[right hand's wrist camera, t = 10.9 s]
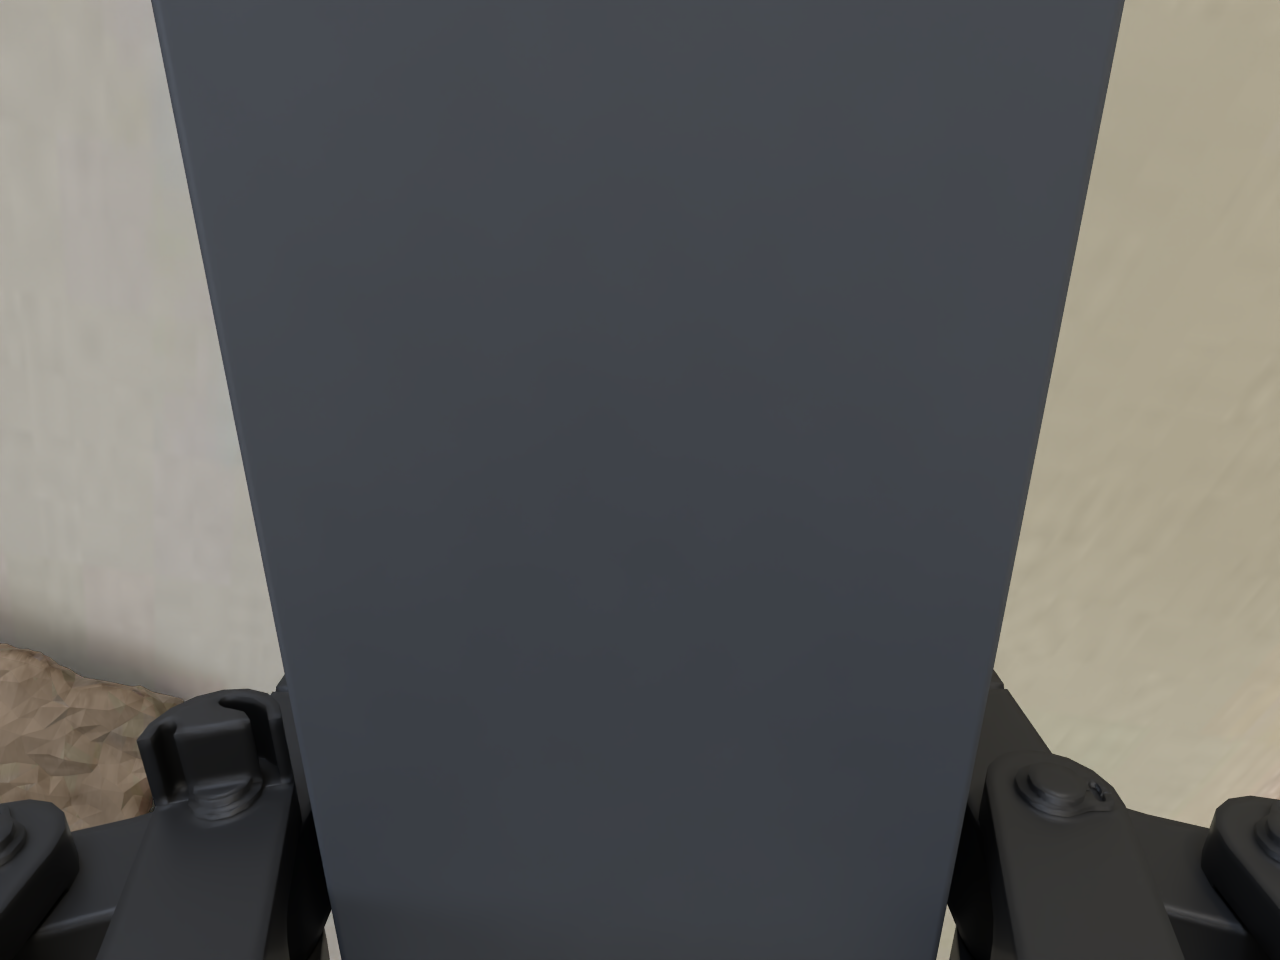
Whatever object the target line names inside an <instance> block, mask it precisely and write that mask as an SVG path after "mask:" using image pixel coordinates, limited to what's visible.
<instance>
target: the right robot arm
mask: <svg viewBox="0 0 1280 960" xmlns="http://www.w3.org/2000/svg"><path fill="white" fill-rule="evenodd" d="M136 741H137V745H138V748H139V752H140V755H141V759H142V762H143V766H144V769H145V773H146V776H147V780H148V783H149V787H150V790H151V794H152V797H153V801H154V804H155V808H154V810H153V812H150V813H147V814H144V815H140V816H137V817H133V818H129V819H125V820H121V821H116V822H112V823H107V824H103V825H99V826H94V827H90V828H86V829H81V830H77V831H72V832H71V831H70V828H69V825H68V822H67V819H66V816H65V813H64V812H63V811H62V810H61V809H59V808H58V807H57V806H56V805H54V804H53V803H52V802H46V801H39V800H32V799H28V800H21V801H14V802H7V803H1V804H0V960H330V958H329V951H328V944H327V939H326V934H325V929H324V926H325V924H326V922H327V919H328V917H329V914H330V912H331V904H330V899H329V894H328V889H327V884H326V879H325V873H324V868H323V863H322V858H321V853H320V848H319V843H318V838H317V833H316V828H315V823H314V818H313V813H312V808H311V803H310V798H309V793H308V788H307V783H306V778H305V773H304V768H303V763H302V758H301V753H300V748H299V742H298V737H297V732H296V727H295V722H294V717H293V712H292V707H291V702H290V697H289V692H288V687H287V682H286V677H285V675H284V676H283V678H282V679H281V681H280V682H279V683H278V685H277V686H276V692H272V694H271V695H269V694H268V693H264V692H259V691H255V690H251V689H232V690H221V691H217V692H213V693H209V694H205V695H201V696H197V697H194V698H192V699H190V700H188V701H185V702H183V703H181V704H179V705H176V706H174V707H172V708H170V709H169V710H167V711H166V712H165V713H163V714H162V715H160V716H159V717H158V718H156V719H155V720H153V721H152V722H151V723H149V725H148V726H147V727H146V729H145V730H144V731H143V732H142V734H141V735H140V736H139V738H138V739H137V740H136ZM947 904H948V907H949V909H950V912H951V914H952V916H953V919H954V921H955V924H956V929H955V934H954V939H953V944H952V949H951V954H950V959H949V960H1280V800H1277V799H1270V798H1263V797H1256V796H1245V797H1238V798H1231V799H1228V800H1227V801H1225V802H1224V803H1223V804H1222V805H1220V806H1219V807H1218V808H1217V809H1216V811H1215V814H1214V817H1213V820H1212V823H1211V826H1210V829H1209V828H1205V827H1200V826H1196V825H1192V824H1187V823H1183V822H1178V821H1174V820H1169V819H1165V818H1161V817H1156V816H1152V815H1147V814H1144V813H1141V812H1137V811H1134V810H1131V809H1127V808H1126V806H1125V804H1124V803H1123V801H1122V800H1121V798H1120V797H1119V795H1118V794H1117V792H1116V791H1115V789H1114V788H1113V787H1112V786H1111V785H1110V784H1109V783H1107V782H1106V781H1105V780H1104V779H1103V778H1101V777H1100V776H1099V775H1098V774H1096V773H1095V772H1094V771H1093V770H1091V769H1089V768H1087V767H1085V766H1083V765H1081V764H1079V763H1077V762H1075V761H1073V760H1071V759H1069V758H1066V757H1062V756H1059V755H1055V754H1052V753H1051V751H1050V750H1049V748H1048V747H1047V746H1046V744H1045V743H1044V741H1043V740H1042V738H1041V737H1040V736H1039V734H1038V733H1037V731H1036V730H1035V728H1034V727H1033V725H1032V724H1031V723H1030V721H1029V720H1028V718H1027V717H1026V715H1025V714H1024V713H1023V711H1022V710H1021V708H1020V707H1019V705H1018V704H1017V702H1016V701H1015V700H1014V698H1013V697H1012V695H1011V694H1010V692H1009V691H1008V690H1007V689H1004V684H1003V682H1002V681H1001V679H1000V678H999V677H998V675H997V674H996V672H995V671H994V670H993V672H992V678H991V683H990V688H989V693H988V698H987V703H986V708H985V713H984V718H983V723H982V728H981V733H980V739H979V744H978V749H977V754H976V759H975V764H974V769H973V774H972V779H971V784H970V789H969V794H968V800H967V805H966V810H965V815H964V820H963V825H962V830H961V835H960V840H959V845H958V850H957V855H956V861H955V866H954V871H953V876H952V881H951V886H950V891H949V896H948V901H947Z"/></svg>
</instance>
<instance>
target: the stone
mask: <svg viewBox="0 0 1280 960" xmlns="http://www.w3.org/2000/svg"><path fill="white" fill-rule="evenodd" d="M181 703H183V700H182V699H180V698H177V697H174V696H169V695H164V694H160V693H155V692H152V691H150V690H148V689H146V688H144V687H142V686H132V687H131V686H127V685H122V684H118V683H113V682H108V681H103V680H96V679H90V678H84V677H82V676H80V675H78V674H76V673H75V672H73V671H72V670H71V669H68V668H66V667H63V666H60V665H58V664H57V663H56V662H55V661H54V660H52V659H51V658H50V657H47V656H45V655H44V654H43V653H42V652H35V651H33V650H30V649H20V648H15V647H13V646H11V645H8V644H0V804H1V803H7V802H14V801H21V800H28V799H32V800H39V801H46V802H52V803H53V804H54V805H56V806H57V807H58V808H59V809H61V810H62V811H63V812H64V813H65V816H66V819H67V822H68V825H69V828H70V831H71V832H72V831H77V830H81V829H86V828H90V827H94V826H99V825H103V824H107V823H112V822H116V821H121V820H125V819H129V818H133V817H137V816H140V815H144V814H147V813H149V810H150V809H151V808H152V800H153V797H152V794H151V790H150V787H149V783H148V780H147V776H146V773H145V769H144V766H143V762H142V759H141V755H140V752H139V748H138V745H137V741H136V740H137V739H138V738H139V736H140V735H141V734H142V732H143V731H144V730H145V729H146V727H147V726H148V725H149V723H151V722H152V721H153V720H155V719H156V718H158V717H159V716H160V715H162V714H163V713H165V712H166V711H167V710H169V709H170V708H172V707H174V706H176V705H179V704H181Z"/></svg>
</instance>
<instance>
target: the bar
mask: <svg viewBox="0 0 1280 960" xmlns="http://www.w3.org/2000/svg"><path fill="white" fill-rule="evenodd" d="M1124 1H1125V0H151V2H152V7H153V12H154V17H155V22H156V27H157V32H158V37H159V42H160V47H161V52H162V57H163V62H164V67H165V72H166V77H167V82H168V87H169V93H170V98H171V103H172V108H173V113H174V118H175V123H176V128H177V133H178V138H179V143H180V148H181V153H182V158H183V163H184V168H185V173H186V178H187V183H188V188H189V193H190V198H191V203H192V208H193V213H194V218H195V224H196V229H197V234H198V239H199V244H200V249H201V254H202V259H203V264H204V269H205V274H206V279H207V284H208V289H209V294H210V299H211V304H212V309H213V314H214V319H215V324H216V329H217V334H218V339H219V344H220V349H221V355H222V360H223V365H224V370H225V375H226V380H227V385H228V390H229V395H230V400H231V405H232V410H233V415H234V420H235V425H236V430H237V435H238V440H239V445H240V450H241V455H242V460H243V465H244V470H245V475H246V480H247V486H248V491H249V496H250V501H251V506H252V511H253V516H254V521H255V526H256V531H257V536H258V541H259V546H260V551H261V556H262V561H263V566H264V571H265V576H266V581H267V586H268V591H269V596H270V601H271V606H272V611H273V617H274V622H275V627H276V632H277V637H278V642H279V647H280V652H281V657H282V662H283V667H284V672H285V677H286V682H287V687H288V692H289V697H290V702H291V707H292V712H293V717H294V722H295V727H296V732H297V737H298V742H299V748H300V753H301V758H302V763H303V768H304V773H305V778H306V783H307V788H308V793H309V798H310V803H311V808H312V813H313V818H314V823H315V828H316V833H317V838H318V843H319V848H320V853H321V858H322V863H323V868H324V873H325V879H326V884H327V889H328V894H329V899H330V904H331V909H332V914H333V919H334V924H335V929H336V934H337V939H338V944H339V949H340V954H341V959H342V960H936V957H937V952H938V947H939V942H940V937H941V932H942V927H943V922H944V916H945V911H946V906H947V901H948V896H949V891H950V886H951V881H952V876H953V871H954V866H955V861H956V855H957V850H958V845H959V840H960V835H961V830H962V825H963V820H964V815H965V810H966V805H967V800H968V794H969V789H970V784H971V779H972V774H973V769H974V764H975V759H976V754H977V749H978V744H979V739H980V733H981V728H982V723H983V718H984V713H985V708H986V703H987V698H988V693H989V688H990V683H991V678H992V672H993V667H994V662H995V657H996V652H997V647H998V642H999V637H1000V632H1001V627H1002V622H1003V616H1004V611H1005V606H1006V601H1007V596H1008V591H1009V586H1010V581H1011V576H1012V571H1013V566H1014V561H1015V555H1016V550H1017V545H1018V540H1019V535H1020V530H1021V525H1022V520H1023V515H1024V510H1025V505H1026V500H1027V494H1028V489H1029V484H1030V479H1031V474H1032V469H1033V464H1034V459H1035V454H1036V449H1037V444H1038V439H1039V433H1040V428H1041V423H1042V418H1043V413H1044V408H1045V403H1046V398H1047V393H1048V388H1049V383H1050V378H1051V372H1052V367H1053V362H1054V357H1055V352H1056V347H1057V342H1058V337H1059V332H1060V327H1061V322H1062V317H1063V311H1064V306H1065V301H1066V296H1067V291H1068V286H1069V281H1070V276H1071V271H1072V266H1073V261H1074V255H1075V250H1076V245H1077V240H1078V235H1079V230H1080V225H1081V220H1082V215H1083V210H1084V205H1085V200H1086V194H1087V189H1088V184H1089V179H1090V174H1091V169H1092V164H1093V159H1094V154H1095V149H1096V144H1097V139H1098V133H1099V128H1100V123H1101V118H1102V113H1103V108H1104V103H1105V98H1106V93H1107V88H1108V83H1109V78H1110V72H1111V67H1112V62H1113V57H1114V52H1115V47H1116V42H1117V37H1118V32H1119V27H1120V22H1121V17H1122V11H1123V6H1124Z"/></svg>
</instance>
